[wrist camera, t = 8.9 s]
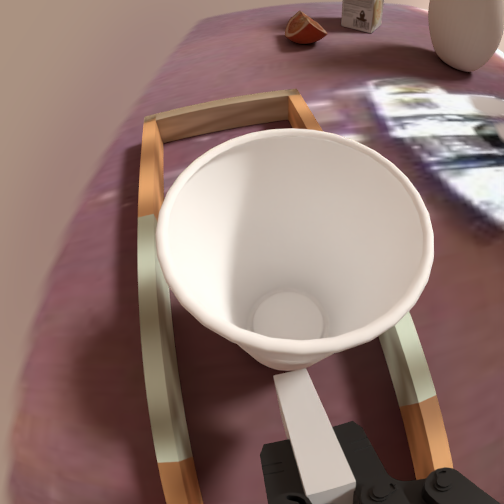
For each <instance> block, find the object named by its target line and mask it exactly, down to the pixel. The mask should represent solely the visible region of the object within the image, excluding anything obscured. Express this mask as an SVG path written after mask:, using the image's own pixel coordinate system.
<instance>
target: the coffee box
mask: <svg viewBox="0 0 504 504" xmlns="http://www.w3.org/2000/svg"><path fill="white" fill-rule="evenodd" d="M383 4H384V0H343V4H342V20H341V26H343V27H348V28H352V29H356V30H360V31H363V32H367V33H372V32H373V31H374V30H376V29H377V28H378V27H379V26H380V25H381V21H382V13H383Z"/></svg>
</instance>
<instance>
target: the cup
mask: <svg viewBox="0 0 504 504" xmlns="http://www.w3.org/2000/svg"><path fill="white" fill-rule="evenodd" d="M155 235H156V248H157V258H158V261H159V264H160V267H161V269H162V272H163V275H164V278H165V281H166V283H167V284H168V286H169V287H170V289H171V290H172V292H173V293H174V295H175V296H176V298H177V299H178V301H179V302H180V304H181V305H182V306H183V307H184V308H185V309H186V310H187V311H188V312H189V313H190V314H191V315H193V316H194V317H195V318H196V319H197V320H198V321H199V322H200V323H201V324H202V325H203V326H205V327H207V328H208V329H210V330H212V331H214V332H215V333H217V334H219V335H220V336H222V337H224V338H226V339H227V340H229V341H231V342H233V343H236V344H237V345H239V346H240V347H241V348H242V349H243V350H245V351H246V352H247V353H248V354H250V355H251V356H252V357H253V358H254V359H256V360H257V361H258V362H259V363H261V364H263V365H265V366H267V367H269V368H273V369H276V370H282V371H294V370H299V369H303V368H307V367H309V366H311V365H313V364H315V363H317V362H319V361H321V360H322V359H324V358H326V357H328V356H330V355H332V354H333V353H338V352H341V351H344V350H347V349H350V348H353V347H356V346H358V345H361V344H364V343H367V342H369V341H371V340H373V339H374V338H376V337H378V336H379V335H381V334H382V333H384V332H385V331H387V330H389V329H390V328H392V327H393V326H395V325H396V324H397V323H398V322H399V321H400V320H401V319H402V318H403V317H404V316H405V315H406V314H407V312H408V311H409V310H410V309H411V308H412V307H413V306H414V305H415V304H416V302H417V300H418V298H419V296H420V295H421V293H422V291H423V289H424V287H425V285H426V284H427V282H428V279H429V275H430V271H431V267H432V263H433V259H434V234H433V229H432V225H431V221H430V217H429V213H428V211H427V209H426V207H425V205H424V202H423V200H422V198H421V196H420V194H419V193H418V191H417V190H416V189H415V187H414V186H413V185H412V183H411V182H410V181H409V179H408V178H407V177H406V176H405V175H404V174H403V173H402V172H401V171H400V170H399V169H398V168H397V167H396V166H395V165H394V164H393V163H392V162H390V161H389V160H387V159H386V158H384V157H383V156H382V155H380V154H379V153H377V152H376V151H374V150H372V149H370V148H368V147H366V146H364V145H362V144H360V143H358V142H356V141H354V140H351V139H348V138H345V137H342V136H339V135H336V134H332V133H327V132H322V131H317V130H309V129H295V128H288V129H271V130H265V131H260V132H254V133H249V134H246V135H243V136H240V137H237V138H234V139H231V140H229V141H226V142H224V143H222V144H220V145H218V146H216V147H214V148H212V149H210V150H209V151H207V152H206V153H205V154H203V155H202V156H200V157H199V158H197V159H196V160H195V161H193V162H192V163H191V164H190V165H189V166H188V167H187V168H186V169H185V170H184V171H183V172H182V173H181V174H180V175H179V176H178V178H177V179H176V181H175V182H174V184H173V185H172V186H171V188H170V189H169V191H168V192H167V194H166V197H165V199H164V201H163V204H162V206H161V209H160V211H159V216H158V222H157V228H156V234H155Z"/></svg>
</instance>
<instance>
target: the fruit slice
mask: <svg viewBox="0 0 504 504" xmlns="http://www.w3.org/2000/svg"><path fill="white" fill-rule="evenodd" d="M326 35H327V32H326V31H325V30H324V29H323V28H322V27H321V26H320V25H319V24H318V23H317V22H315V21H314V20H312V19H311V18H310V17H308V16H307V15H305V14H304V13H303V12H301V11H298V12H297V13H296V14H295V15H294V16H293V17H292V18H291V19H290V20H289V22H288V24H287V27H286V30H285V36H286V37H287V38H288V39H289V40H291V41H293V42H296V43H300V44H309V43H313V42H316V41H318V40H320V39H322V38H323V37H325V36H326Z"/></svg>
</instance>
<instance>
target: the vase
mask: <svg viewBox="0 0 504 504" xmlns="http://www.w3.org/2000/svg"><path fill="white" fill-rule="evenodd" d="M428 20H429V30H430V36H431V40H432V44H433V47H434V50H435V52H436V54H437V55H438V57H439V58H440V59H441V60H442V61H444V62H445V63H446V64H448V65H449V66H451V67H453V68H455V69H458V70H461V71H465V72H472V71H475V70H477V69H479V68H480V67H482V66H483V65H484V64H485V63H486V62H487V61H488V60H489V59H490V58H491V57H492V56H493V54H494V53H495V51H496V50H497V48H498V45H499V43H500V41H501V38H502V35H503V30H504V0H430V3H429V11H428Z"/></svg>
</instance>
